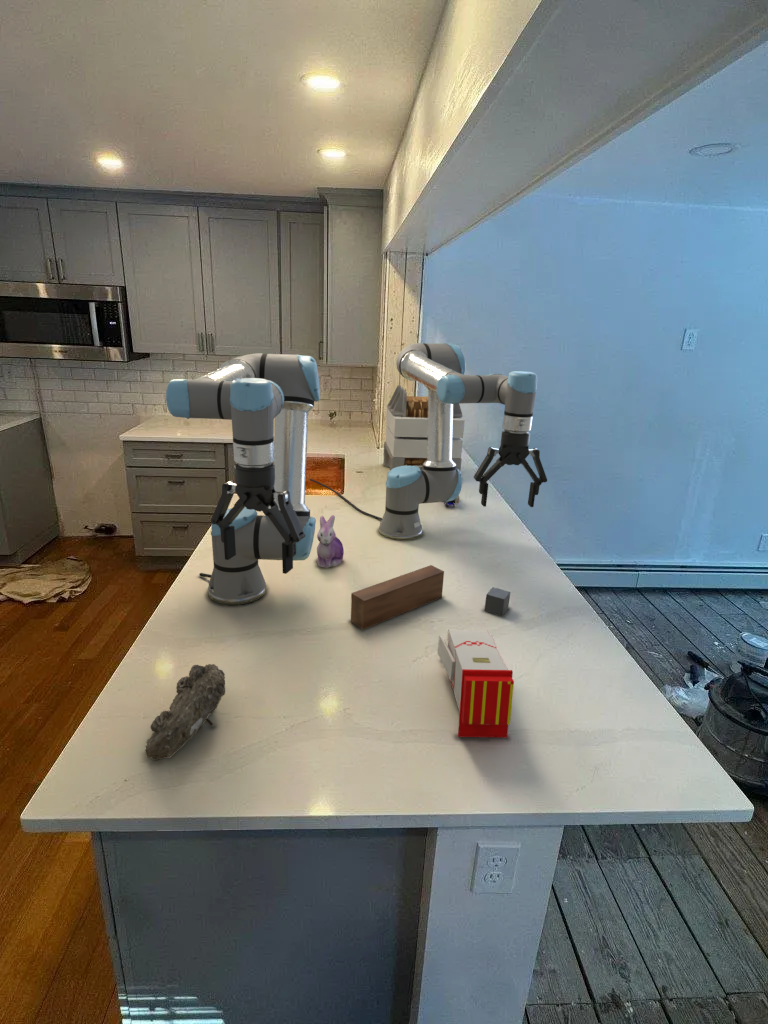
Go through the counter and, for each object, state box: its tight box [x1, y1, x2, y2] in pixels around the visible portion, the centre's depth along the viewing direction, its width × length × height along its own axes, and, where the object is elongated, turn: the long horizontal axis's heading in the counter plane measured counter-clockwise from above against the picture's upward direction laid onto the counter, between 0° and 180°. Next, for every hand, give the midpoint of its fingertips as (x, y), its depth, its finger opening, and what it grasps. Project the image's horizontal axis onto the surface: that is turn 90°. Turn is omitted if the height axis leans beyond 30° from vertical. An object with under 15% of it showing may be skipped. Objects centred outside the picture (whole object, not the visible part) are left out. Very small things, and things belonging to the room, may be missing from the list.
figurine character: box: [443, 495, 460, 508], centre depth 232 cm, size 7×8×15 cm
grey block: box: [484, 586, 511, 617], centre depth 151 cm, size 5×5×5 cm
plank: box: [350, 564, 445, 630], centre depth 149 cm, size 5×28×8 cm, turn 131°
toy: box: [437, 628, 515, 738], centre depth 117 cm, size 12×13×30 cm
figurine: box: [316, 514, 345, 568], centre depth 173 cm, size 9×10×15 cm
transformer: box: [383, 384, 465, 472], centre depth 268 cm, size 34×33×41 cm
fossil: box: [144, 663, 226, 761], centre depth 105 cm, size 22×10×15 cm
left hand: (258, 563), depth 115 cm, fingers open, 13 cm apart
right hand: (507, 505), depth 160 cm, fingers open, 13 cm apart
